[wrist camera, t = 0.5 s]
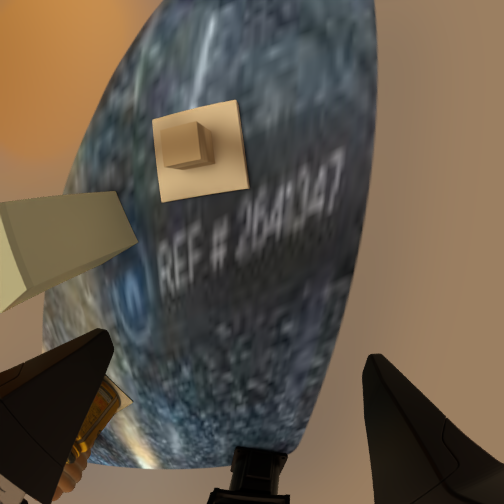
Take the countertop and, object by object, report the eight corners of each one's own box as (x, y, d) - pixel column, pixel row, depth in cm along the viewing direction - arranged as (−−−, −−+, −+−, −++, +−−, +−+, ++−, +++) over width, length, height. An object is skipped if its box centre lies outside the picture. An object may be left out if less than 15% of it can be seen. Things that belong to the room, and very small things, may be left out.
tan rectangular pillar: (138, 242, 23) (26, 289, 11) (101, 264, 24) (-1, 314, 12) (115, 191, 23) (-3, 203, 10) (80, 217, 24) (-27, 242, 11)
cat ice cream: (67, 400, 31) (3, 468, 14) (108, 427, 31) (50, 507, 13) (71, 427, 33) (20, 488, 16) (107, 451, 33) (61, 520, 16)
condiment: (110, 416, 30) (68, 471, 18) (67, 372, 29) (16, 420, 18) (133, 401, 28) (86, 467, 17) (85, 351, 28) (23, 405, 16)
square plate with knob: (249, 188, 21) (239, 188, 17) (166, 201, 22) (140, 205, 18) (238, 103, 20) (225, 83, 15) (157, 122, 21) (130, 110, 16)
